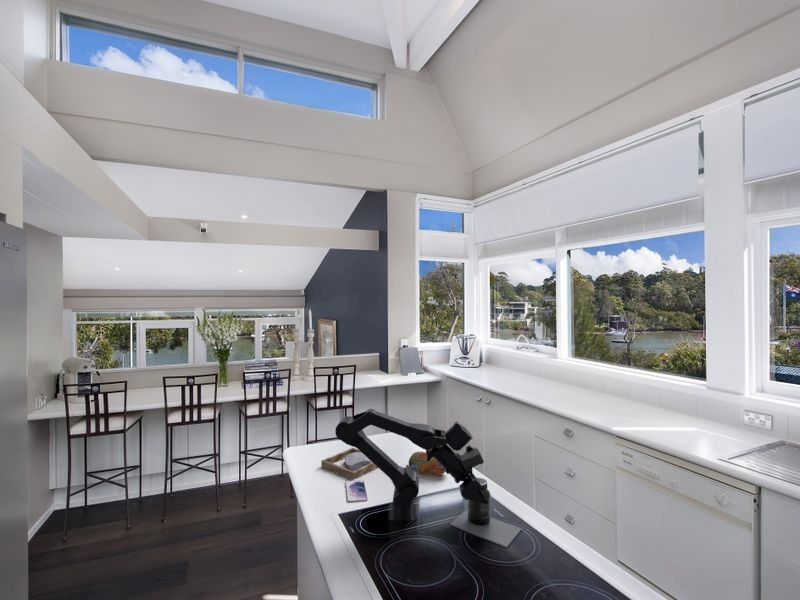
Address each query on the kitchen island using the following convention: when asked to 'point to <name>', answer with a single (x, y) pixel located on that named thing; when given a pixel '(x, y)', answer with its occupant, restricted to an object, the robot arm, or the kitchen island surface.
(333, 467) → the walnut tray frame
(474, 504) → the supplement bottle
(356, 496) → the smartphone
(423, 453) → the tin
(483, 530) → the rubber mat
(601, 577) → the kitchen island surface
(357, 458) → the stone block
